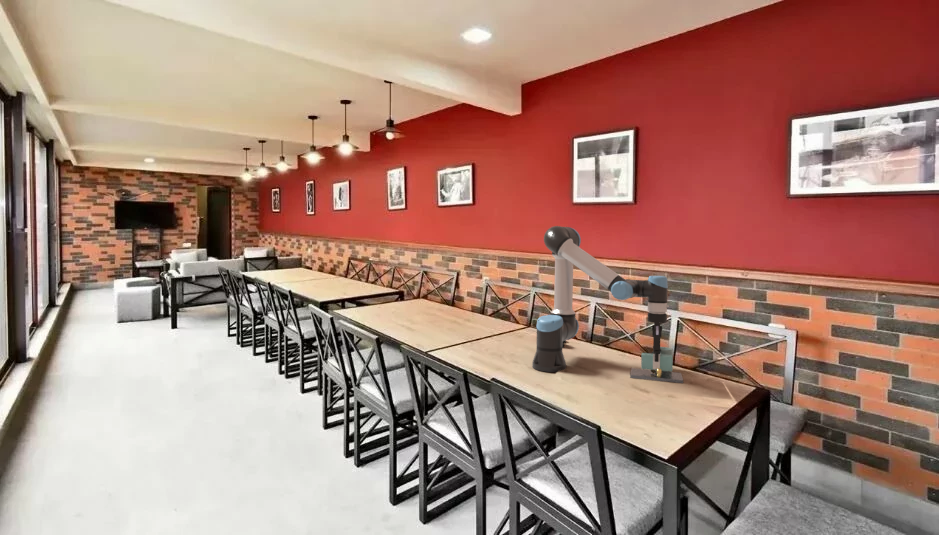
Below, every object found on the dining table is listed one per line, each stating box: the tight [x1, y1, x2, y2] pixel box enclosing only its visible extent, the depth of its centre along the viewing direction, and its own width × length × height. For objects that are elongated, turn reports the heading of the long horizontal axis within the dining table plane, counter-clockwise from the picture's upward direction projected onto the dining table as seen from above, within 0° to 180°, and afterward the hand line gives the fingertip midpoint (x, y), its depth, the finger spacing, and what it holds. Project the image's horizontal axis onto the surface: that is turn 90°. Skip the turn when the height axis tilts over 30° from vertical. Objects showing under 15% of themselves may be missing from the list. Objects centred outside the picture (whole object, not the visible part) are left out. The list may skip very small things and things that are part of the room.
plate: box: [629, 367, 684, 384], centre depth 190 cm, size 20×12×5 cm, turn 69°
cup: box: [660, 346, 674, 372], centre depth 199 cm, size 8×8×10 cm
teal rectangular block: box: [640, 352, 674, 372], centre depth 189 cm, size 12×4×7 cm, turn 66°
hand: (656, 367), depth 190 cm, fingers closed on teal rectangular block, 4 cm apart
